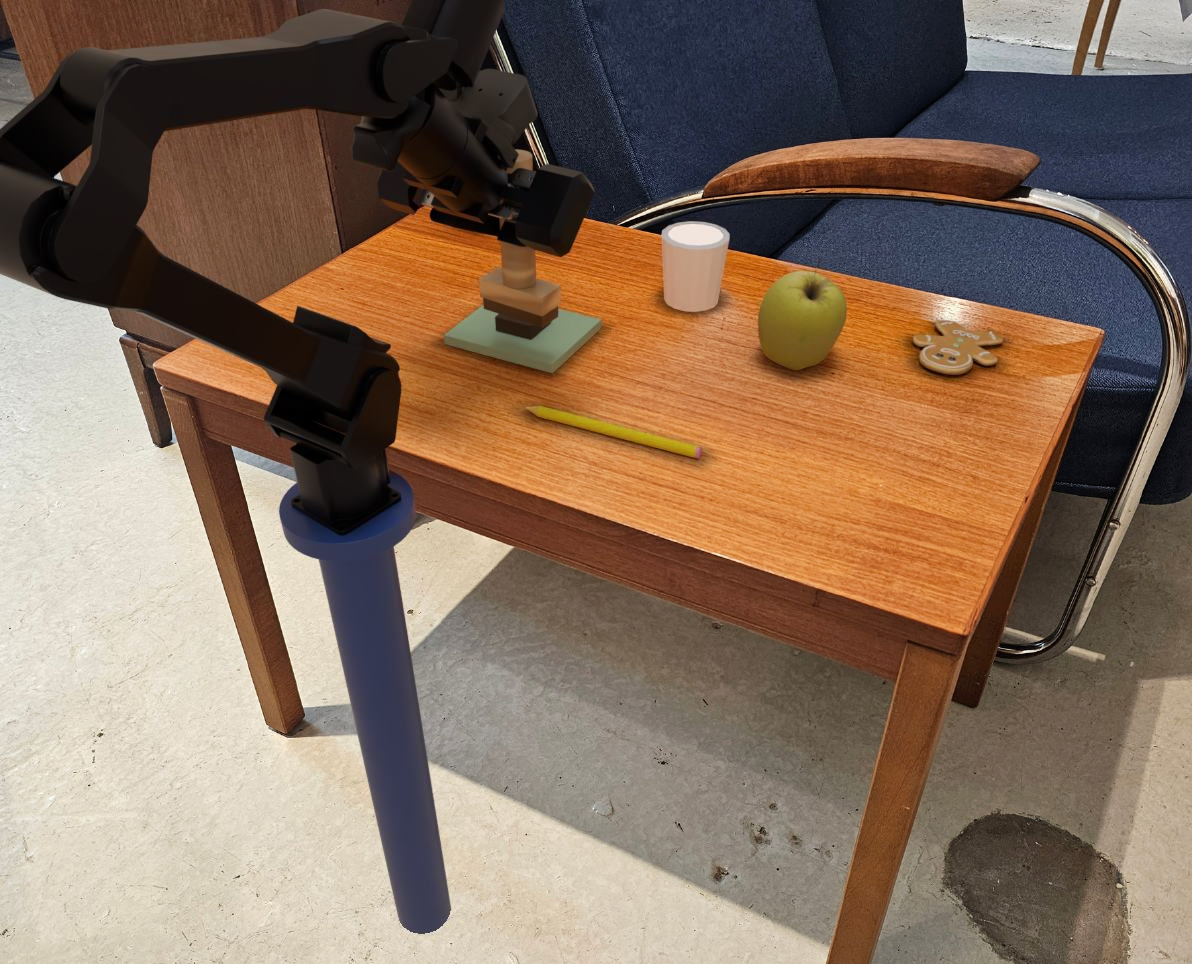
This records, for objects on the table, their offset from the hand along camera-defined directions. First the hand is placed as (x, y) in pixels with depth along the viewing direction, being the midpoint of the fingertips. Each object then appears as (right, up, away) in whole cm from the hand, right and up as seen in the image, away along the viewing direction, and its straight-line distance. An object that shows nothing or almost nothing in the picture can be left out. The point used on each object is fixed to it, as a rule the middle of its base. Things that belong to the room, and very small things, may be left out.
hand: (527, 237), depth 92 cm
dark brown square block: (-1, -5, +10) cm, 11 cm away
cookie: (+41, -8, +9) cm, 42 cm away
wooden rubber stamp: (-1, -6, +3) cm, 7 cm away
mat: (-1, -6, +11) cm, 12 cm away
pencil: (+7, -18, -2) cm, 19 cm away
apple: (+25, -9, +8) cm, 28 cm away
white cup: (+16, -1, +17) cm, 23 cm away
